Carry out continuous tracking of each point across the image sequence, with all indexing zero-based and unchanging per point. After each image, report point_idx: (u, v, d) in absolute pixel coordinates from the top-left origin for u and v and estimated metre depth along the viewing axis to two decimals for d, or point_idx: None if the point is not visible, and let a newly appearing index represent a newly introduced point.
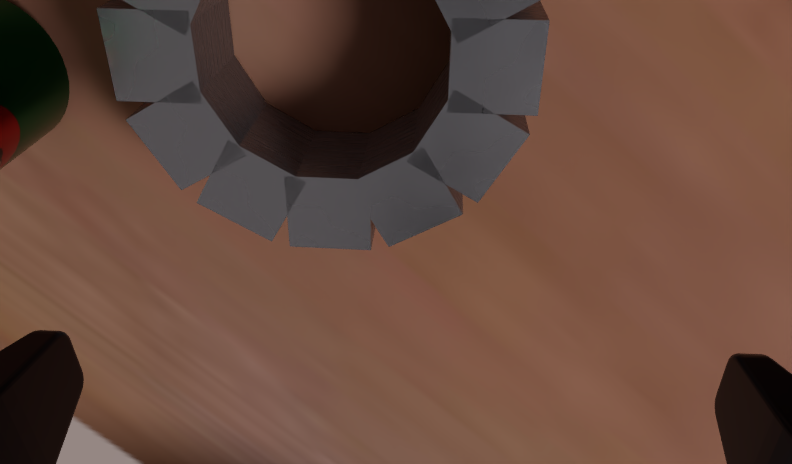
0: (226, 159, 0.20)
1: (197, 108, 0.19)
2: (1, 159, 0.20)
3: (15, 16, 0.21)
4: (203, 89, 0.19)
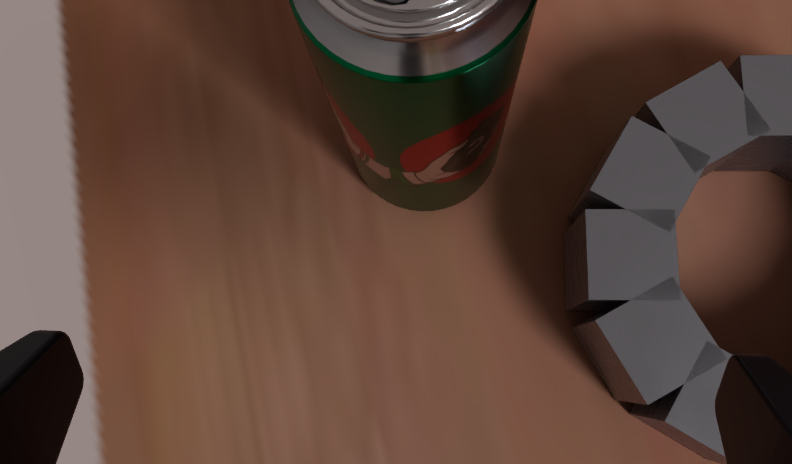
0: (658, 293, 0.19)
1: (661, 234, 0.19)
2: (461, 170, 0.19)
3: None
4: (671, 224, 0.19)
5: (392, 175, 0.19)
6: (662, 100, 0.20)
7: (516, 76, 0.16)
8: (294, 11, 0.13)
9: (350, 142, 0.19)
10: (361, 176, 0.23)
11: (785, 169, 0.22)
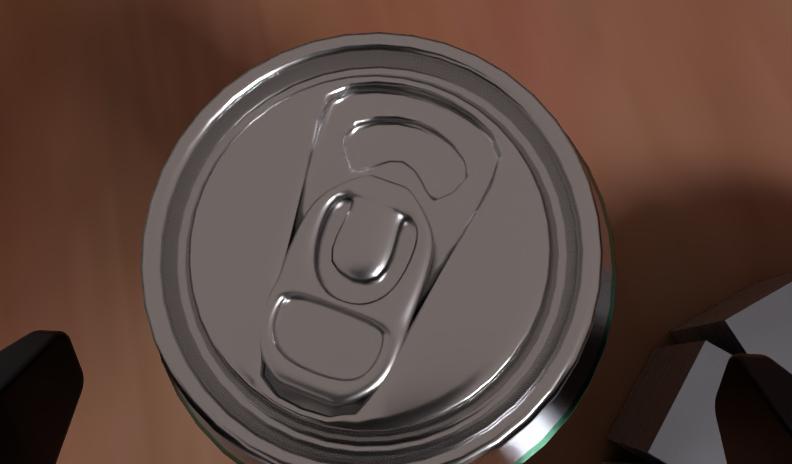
0: None
1: None
2: None
3: None
4: None
5: None
6: (749, 318, 0.14)
7: None
8: (161, 357, 0.07)
9: None
10: None
11: None
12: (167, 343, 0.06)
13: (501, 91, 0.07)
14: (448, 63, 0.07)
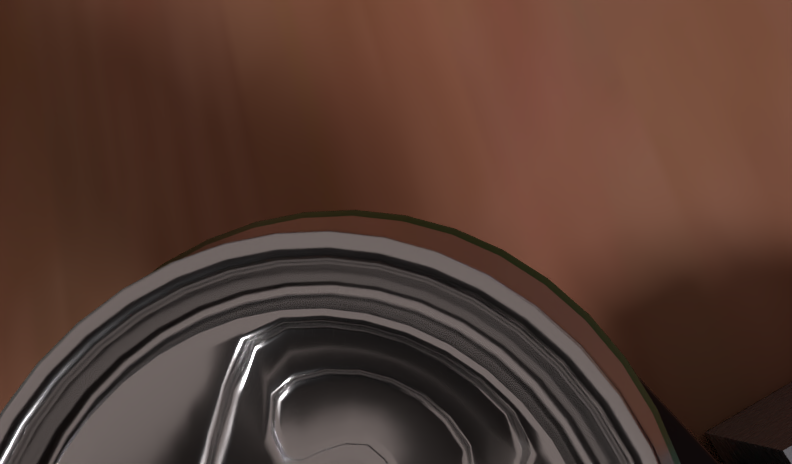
0: None
1: None
2: None
3: None
4: None
5: None
6: None
7: None
8: None
9: None
10: None
11: None
12: None
13: (526, 338, 0.04)
14: (441, 284, 0.04)
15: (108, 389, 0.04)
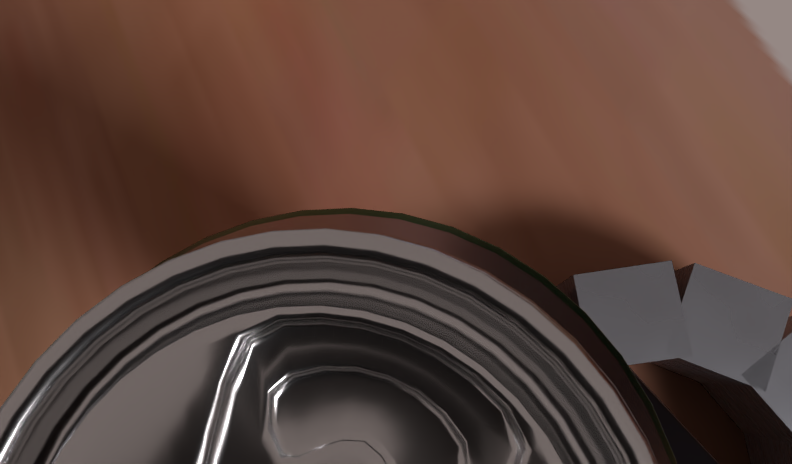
0: None
1: None
2: None
3: None
4: None
5: None
6: None
7: None
8: None
9: None
10: None
11: (653, 361, 0.20)
12: None
13: (523, 333, 0.04)
14: (437, 281, 0.04)
15: (106, 386, 0.04)
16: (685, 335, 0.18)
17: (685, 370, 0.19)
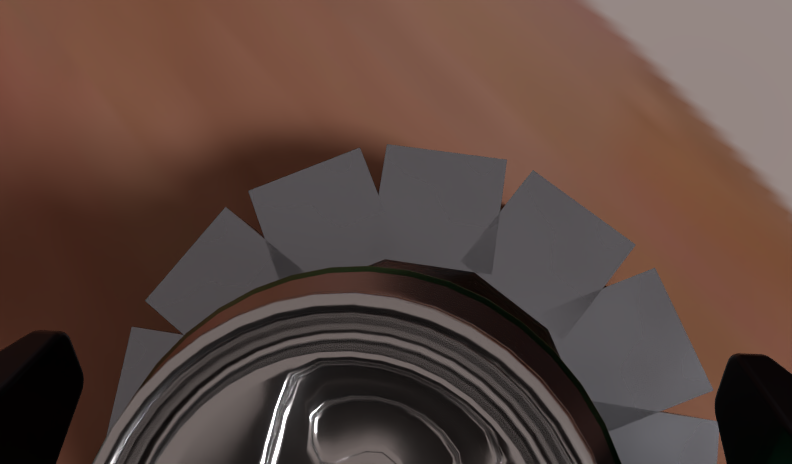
0: None
1: None
2: None
3: None
4: None
5: None
6: (165, 290, 0.14)
7: None
8: None
9: None
10: None
11: None
12: None
13: (499, 373, 0.05)
14: (437, 332, 0.06)
15: (187, 410, 0.06)
16: (392, 231, 0.14)
17: None
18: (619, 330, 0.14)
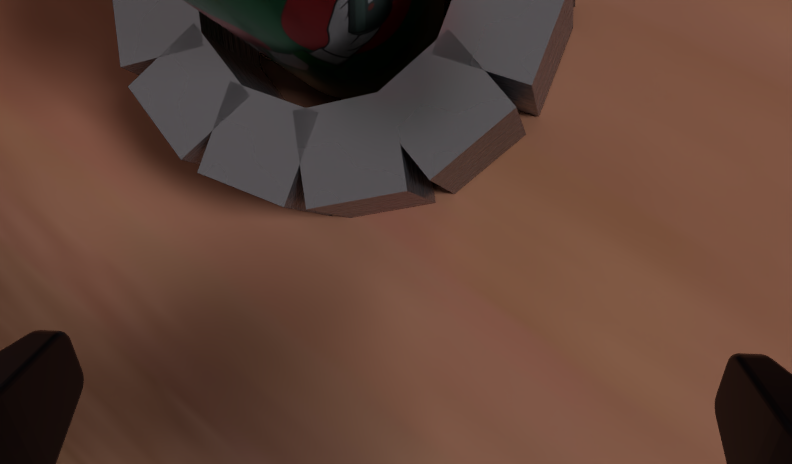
0: (229, 105, 0.17)
1: (198, 52, 0.18)
2: (380, 26, 0.15)
3: None
4: (206, 36, 0.18)
5: (306, 62, 0.16)
6: None
7: None
8: None
9: (244, 41, 0.16)
10: None
11: None
12: None
13: None
14: None
15: None
16: None
17: None
18: None
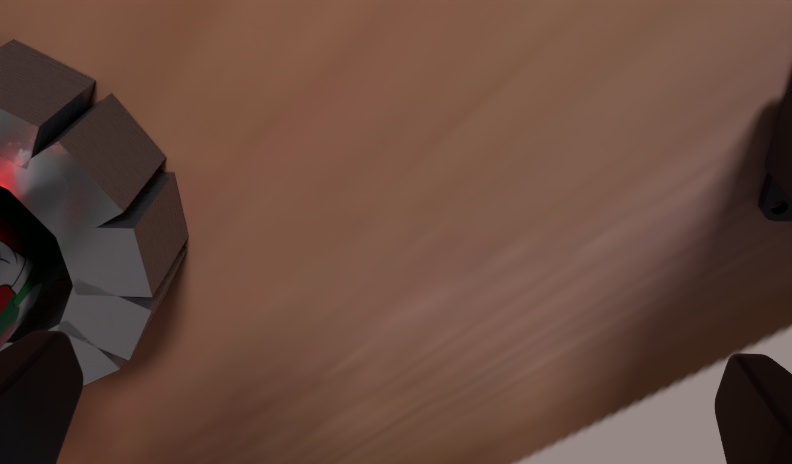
0: (76, 333, 0.23)
1: None
2: None
3: None
4: None
5: (30, 289, 0.21)
6: None
7: None
8: None
9: None
10: None
11: None
12: None
13: None
14: None
15: None
16: None
17: None
18: None
